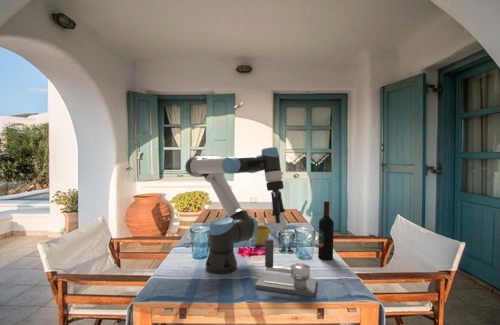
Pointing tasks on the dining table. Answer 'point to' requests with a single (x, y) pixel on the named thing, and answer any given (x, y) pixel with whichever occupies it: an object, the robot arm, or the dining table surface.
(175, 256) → the dining table surface
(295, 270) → the grey lever handle
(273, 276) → the base plate
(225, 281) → the dining table surface
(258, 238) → the plant pot
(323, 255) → the wine bottle
